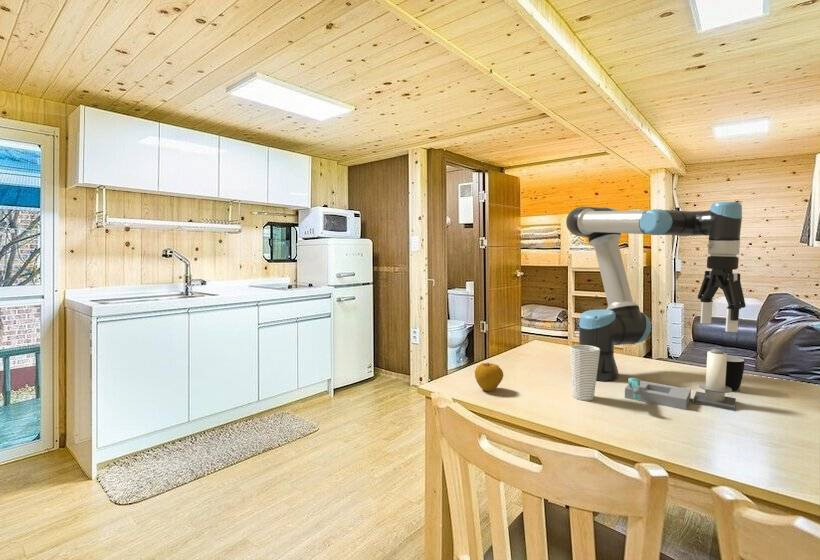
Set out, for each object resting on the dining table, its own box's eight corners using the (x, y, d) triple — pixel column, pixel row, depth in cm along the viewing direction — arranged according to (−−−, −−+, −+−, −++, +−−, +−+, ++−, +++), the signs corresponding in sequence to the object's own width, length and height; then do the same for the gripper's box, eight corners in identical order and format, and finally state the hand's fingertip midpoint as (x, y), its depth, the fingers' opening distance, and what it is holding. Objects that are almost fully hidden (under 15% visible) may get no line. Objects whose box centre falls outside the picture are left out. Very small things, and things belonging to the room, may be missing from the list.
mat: (692, 402, 130) (693, 399, 130) (696, 394, 138) (696, 391, 138) (734, 410, 124) (734, 407, 124) (735, 401, 132) (735, 398, 132)
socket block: (624, 397, 134) (625, 385, 134) (632, 388, 144) (633, 376, 143) (685, 409, 124) (686, 396, 124) (690, 398, 134) (691, 386, 134)
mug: (750, 392, 141) (751, 361, 140) (725, 393, 140) (727, 361, 139) (718, 381, 153) (720, 352, 152) (695, 381, 151) (697, 353, 151)
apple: (505, 388, 143) (506, 360, 142) (499, 396, 135) (499, 367, 134) (478, 384, 146) (479, 357, 146) (470, 391, 138) (471, 364, 138)
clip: (627, 382, 137) (628, 373, 137) (639, 383, 135) (639, 374, 135) (630, 399, 121) (631, 389, 121) (643, 400, 120) (644, 390, 120)
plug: (697, 399, 130) (699, 350, 129) (699, 392, 136) (702, 345, 135) (730, 405, 125) (733, 354, 124) (731, 398, 132) (734, 349, 131)
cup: (597, 394, 137) (599, 345, 136) (599, 403, 129) (601, 351, 128) (568, 391, 139) (569, 343, 138) (568, 400, 131) (570, 349, 130)
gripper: (688, 254, 141) (683, 319, 143) (734, 256, 116) (728, 335, 118) (713, 254, 140) (708, 320, 142) (765, 256, 115) (759, 336, 117)
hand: (717, 327), depth 130 cm, fingers open, 13 cm apart
